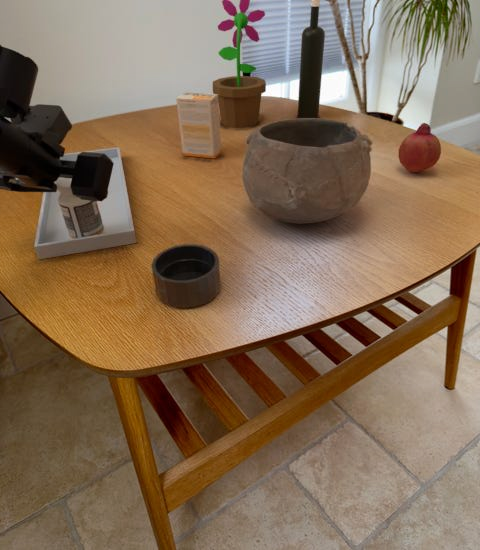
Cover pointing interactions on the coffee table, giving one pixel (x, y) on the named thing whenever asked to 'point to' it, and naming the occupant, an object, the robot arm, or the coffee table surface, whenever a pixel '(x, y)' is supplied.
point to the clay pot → (306, 169)
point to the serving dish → (112, 210)
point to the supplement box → (199, 124)
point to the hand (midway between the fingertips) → (81, 191)
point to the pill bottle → (78, 212)
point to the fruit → (420, 150)
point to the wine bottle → (311, 66)
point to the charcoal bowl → (186, 275)
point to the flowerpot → (239, 89)
